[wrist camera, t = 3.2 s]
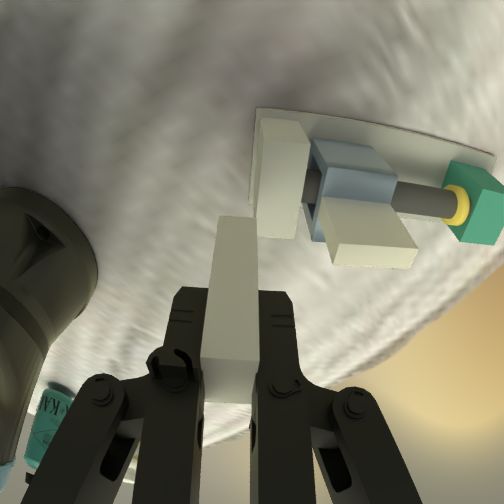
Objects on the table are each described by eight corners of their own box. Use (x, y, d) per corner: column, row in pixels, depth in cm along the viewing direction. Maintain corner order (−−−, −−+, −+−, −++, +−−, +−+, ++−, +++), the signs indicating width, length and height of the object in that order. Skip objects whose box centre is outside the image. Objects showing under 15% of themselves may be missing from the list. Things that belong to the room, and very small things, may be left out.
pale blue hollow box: (301, 201, 22) (324, 292, 15) (311, 137, 19) (349, 208, 12) (355, 205, 22) (397, 293, 15) (371, 146, 19) (431, 217, 12)
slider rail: (248, 200, 24) (248, 245, 19) (256, 107, 19) (258, 131, 15) (466, 222, 25) (495, 260, 20) (492, 155, 20) (531, 186, 16)
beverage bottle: (74, 401, 49) (52, 495, 33) (43, 386, 46) (17, 480, 31) (80, 392, 46) (57, 496, 30) (47, 376, 43) (17, 479, 27)
